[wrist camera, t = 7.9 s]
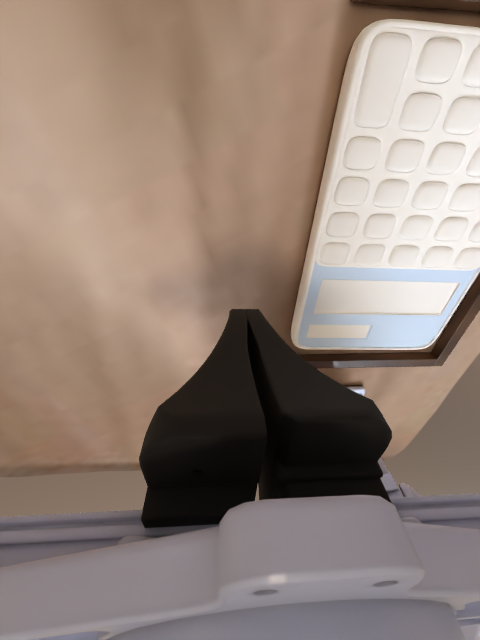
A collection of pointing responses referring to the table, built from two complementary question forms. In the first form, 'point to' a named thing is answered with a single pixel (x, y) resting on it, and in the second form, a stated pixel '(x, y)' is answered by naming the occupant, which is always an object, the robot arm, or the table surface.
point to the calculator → (396, 193)
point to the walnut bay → (471, 304)
